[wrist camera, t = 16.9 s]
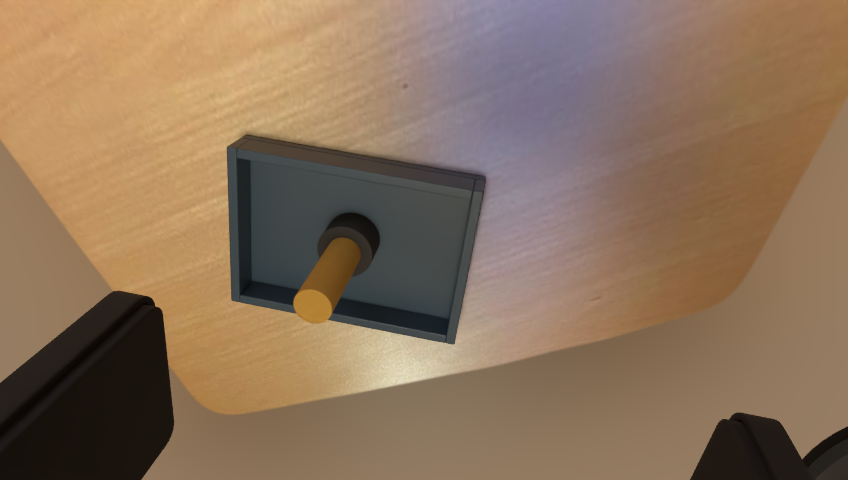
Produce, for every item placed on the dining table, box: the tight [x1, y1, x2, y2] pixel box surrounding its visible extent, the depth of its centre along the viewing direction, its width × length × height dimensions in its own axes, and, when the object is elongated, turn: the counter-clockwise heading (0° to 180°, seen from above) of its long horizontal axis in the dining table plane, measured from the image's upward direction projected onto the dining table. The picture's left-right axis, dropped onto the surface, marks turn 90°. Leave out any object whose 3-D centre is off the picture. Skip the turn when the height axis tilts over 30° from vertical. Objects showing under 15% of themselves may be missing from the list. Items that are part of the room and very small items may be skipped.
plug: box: [293, 213, 380, 323], centre depth 38 cm, size 4×4×10 cm
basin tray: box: [227, 135, 486, 344], centre depth 41 cm, size 17×12×3 cm
